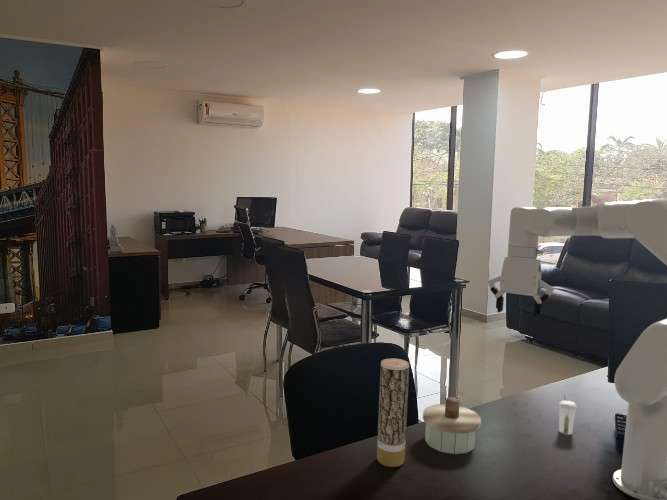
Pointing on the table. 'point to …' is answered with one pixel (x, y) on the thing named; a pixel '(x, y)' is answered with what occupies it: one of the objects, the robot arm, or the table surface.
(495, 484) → the table surface
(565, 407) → the milkshake
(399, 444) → the log-textured cylinder
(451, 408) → the lid
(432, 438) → the bowl
